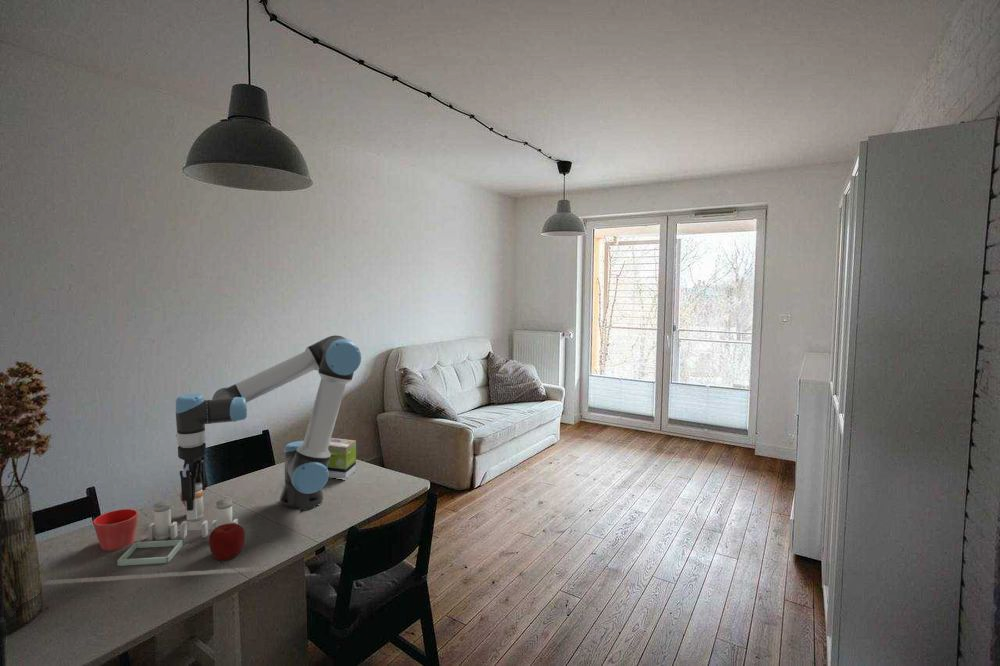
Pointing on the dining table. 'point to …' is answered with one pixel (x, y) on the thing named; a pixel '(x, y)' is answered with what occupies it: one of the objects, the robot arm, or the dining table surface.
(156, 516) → the fuse
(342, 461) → the tea box
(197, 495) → the cylinder
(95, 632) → the dining table surface
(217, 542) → the apple
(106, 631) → the dining table surface
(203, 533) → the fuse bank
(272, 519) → the dining table surface
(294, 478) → the robot arm
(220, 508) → the white rounded cylinder
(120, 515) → the flower pot
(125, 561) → the tray
